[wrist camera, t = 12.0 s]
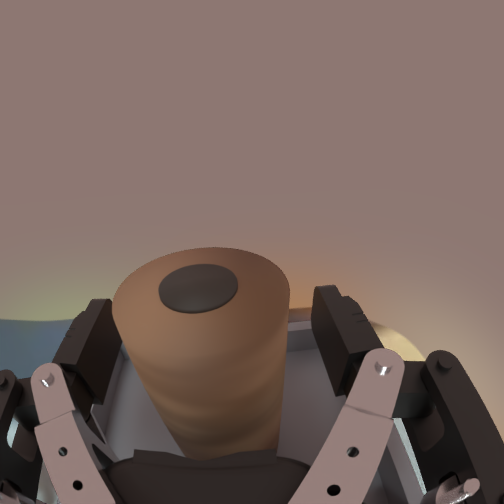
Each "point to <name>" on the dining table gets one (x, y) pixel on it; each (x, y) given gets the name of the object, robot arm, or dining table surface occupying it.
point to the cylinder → (209, 346)
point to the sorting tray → (291, 426)
